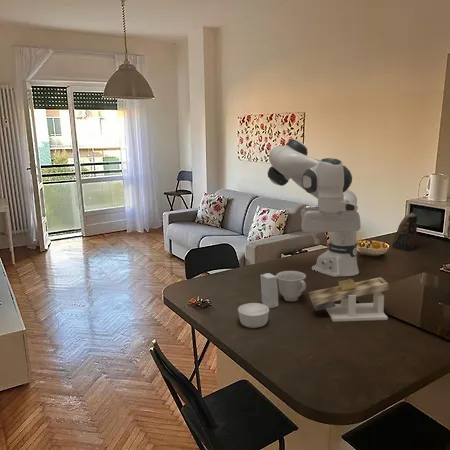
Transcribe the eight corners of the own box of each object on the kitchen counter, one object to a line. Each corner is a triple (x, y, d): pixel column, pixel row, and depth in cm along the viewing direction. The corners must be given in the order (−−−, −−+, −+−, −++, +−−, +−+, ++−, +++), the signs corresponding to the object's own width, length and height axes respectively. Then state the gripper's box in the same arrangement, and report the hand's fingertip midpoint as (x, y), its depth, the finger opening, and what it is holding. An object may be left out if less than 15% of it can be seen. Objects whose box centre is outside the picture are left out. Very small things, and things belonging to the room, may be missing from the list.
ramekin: (260, 332, 138) (260, 317, 137) (232, 325, 144) (231, 311, 143) (274, 319, 147) (274, 305, 146) (247, 314, 153) (247, 300, 152)
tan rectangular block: (342, 294, 146) (341, 285, 146) (339, 290, 150) (338, 281, 150) (356, 291, 146) (355, 282, 145) (353, 287, 150) (351, 278, 149)
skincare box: (278, 306, 159) (278, 276, 157) (269, 308, 157) (268, 278, 155) (270, 301, 165) (269, 272, 162) (260, 303, 163) (260, 274, 160)
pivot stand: (332, 321, 144) (333, 297, 142) (324, 307, 156) (324, 285, 155) (387, 319, 143) (388, 295, 142) (374, 305, 156) (375, 283, 154)
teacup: (292, 309, 156) (292, 284, 154) (270, 297, 169) (269, 274, 167) (317, 302, 161) (317, 278, 159) (294, 291, 174) (294, 268, 172)
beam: (315, 312, 146) (312, 299, 145) (310, 303, 154) (308, 291, 153) (390, 296, 144) (388, 283, 143) (382, 288, 152) (380, 276, 151)
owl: (410, 245, 240) (411, 211, 236) (424, 250, 228) (426, 214, 224) (390, 247, 238) (392, 213, 234) (404, 252, 226) (406, 216, 222)
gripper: (301, 207, 141) (302, 246, 144) (362, 205, 140) (361, 245, 142) (299, 205, 147) (299, 242, 150) (357, 203, 146) (356, 240, 149)
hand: (330, 243), depth 146 cm, fingers open, 8 cm apart
